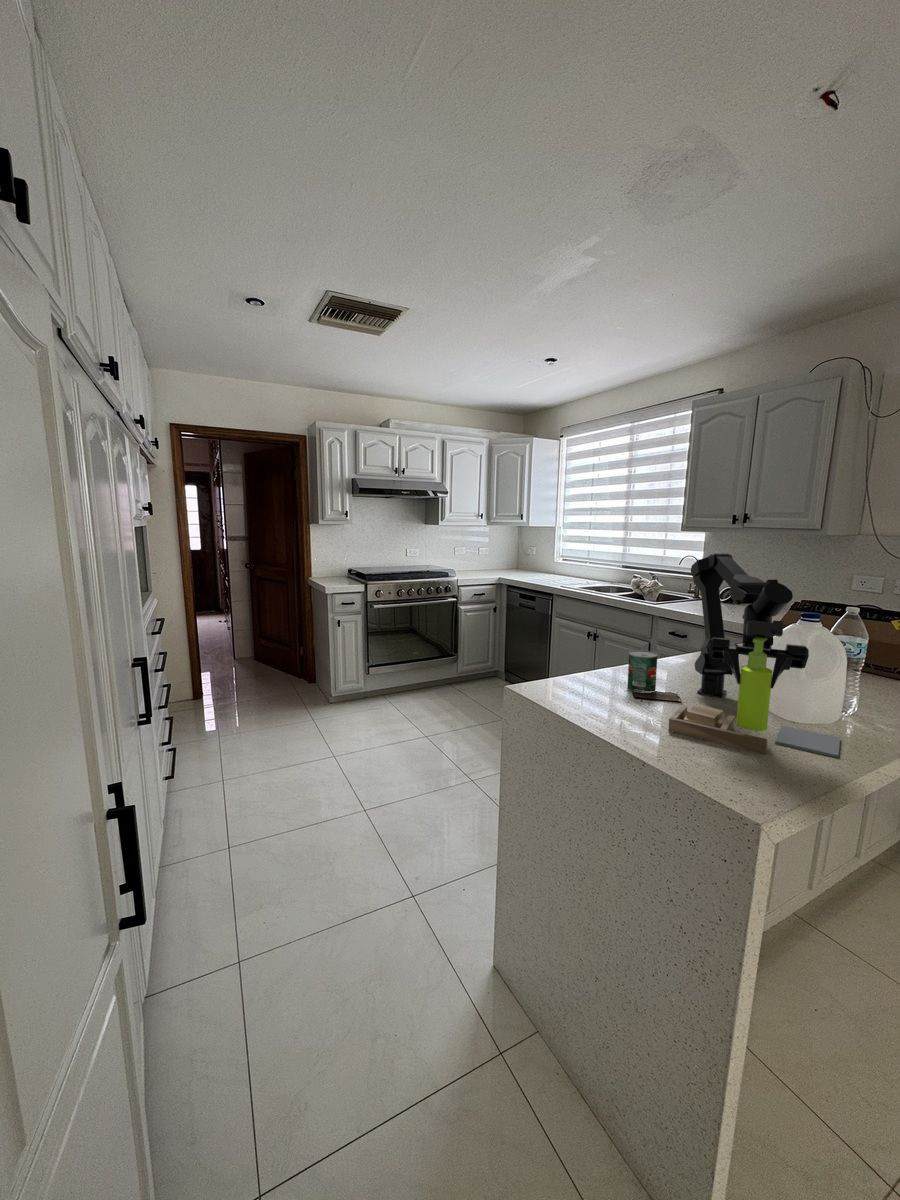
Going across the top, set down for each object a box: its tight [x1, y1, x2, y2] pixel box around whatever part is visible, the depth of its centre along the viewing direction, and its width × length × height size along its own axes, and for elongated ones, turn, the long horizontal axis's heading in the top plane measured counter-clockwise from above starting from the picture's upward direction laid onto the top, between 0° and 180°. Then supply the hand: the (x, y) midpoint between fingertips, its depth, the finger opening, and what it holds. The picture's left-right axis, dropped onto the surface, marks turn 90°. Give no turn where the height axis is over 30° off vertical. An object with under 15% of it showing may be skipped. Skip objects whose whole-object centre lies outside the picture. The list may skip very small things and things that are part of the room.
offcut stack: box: [684, 704, 724, 728], centre depth 116 cm, size 8×7×4 cm
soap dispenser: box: [735, 636, 773, 732], centre depth 108 cm, size 6×7×20 cm
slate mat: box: [774, 725, 841, 759], centre depth 109 cm, size 11×11×1 cm
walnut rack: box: [668, 705, 768, 755], centre depth 113 cm, size 11×20×3 cm, turn 50°
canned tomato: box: [626, 649, 658, 692], centre depth 144 cm, size 8×8×11 cm
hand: (755, 685), depth 107 cm, fingers closed on soap dispenser, 6 cm apart
